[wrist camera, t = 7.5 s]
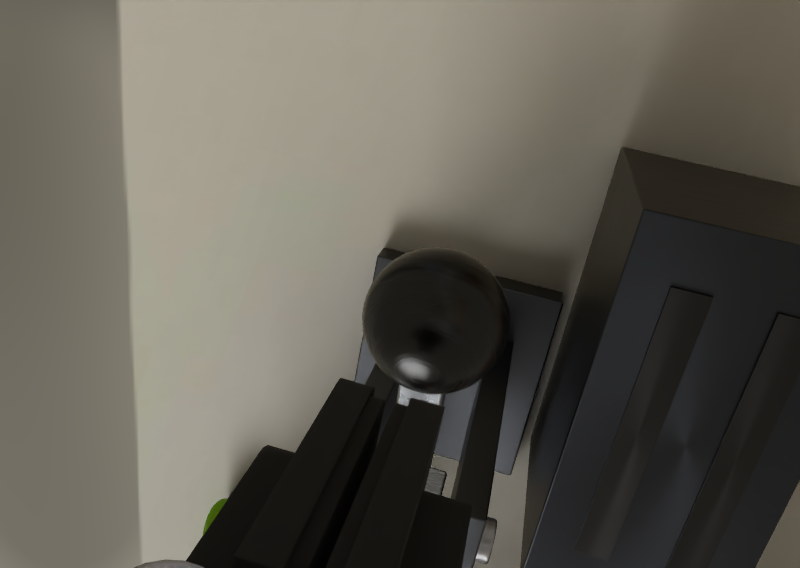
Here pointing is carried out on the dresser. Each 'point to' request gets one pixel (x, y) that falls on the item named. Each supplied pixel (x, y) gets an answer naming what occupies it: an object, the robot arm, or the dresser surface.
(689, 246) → the toaster
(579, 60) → the dresser surface
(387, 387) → the lever bracket
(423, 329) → the toaster lever
